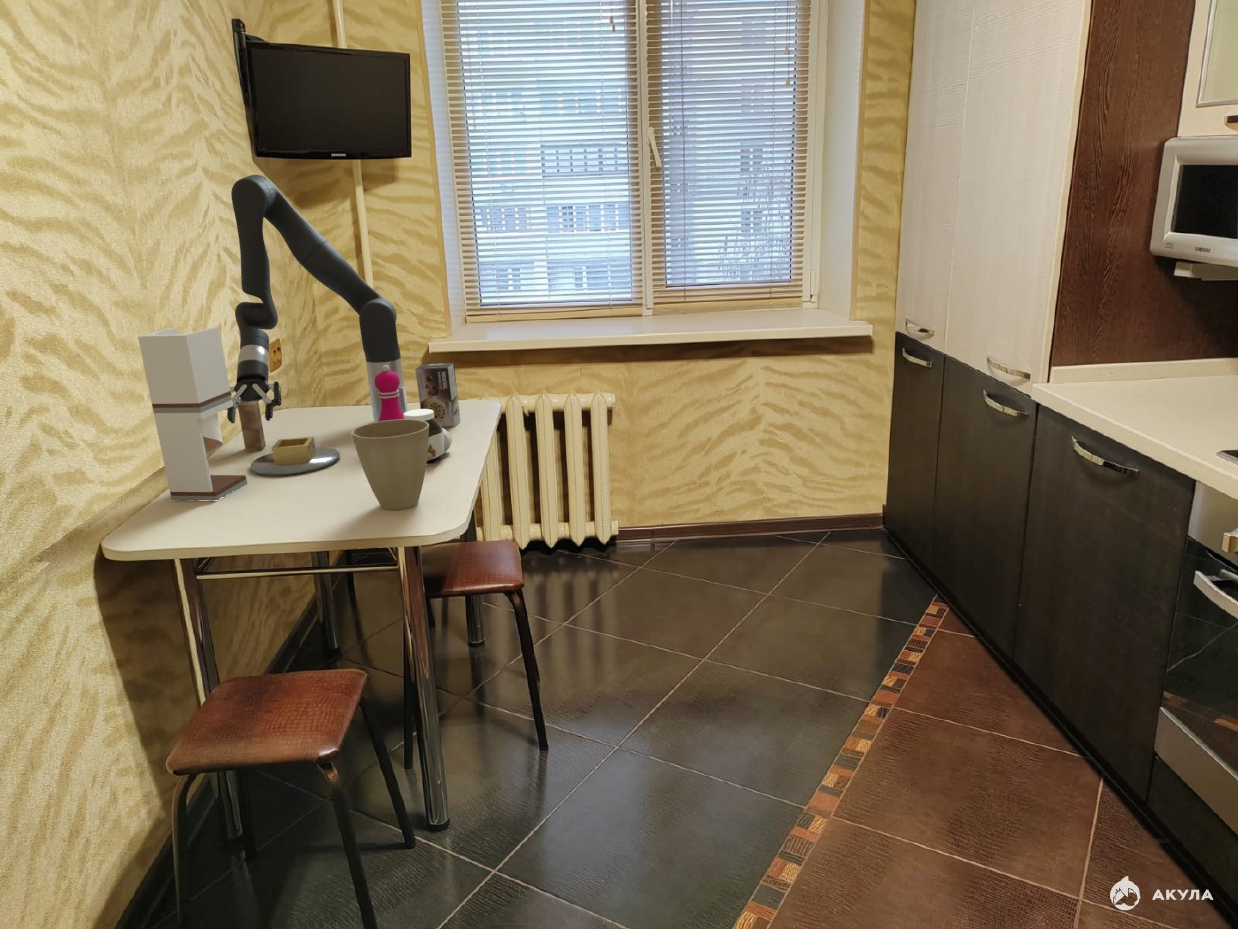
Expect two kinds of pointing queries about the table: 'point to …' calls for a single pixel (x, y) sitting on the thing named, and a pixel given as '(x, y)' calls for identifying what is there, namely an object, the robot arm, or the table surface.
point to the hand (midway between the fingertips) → (249, 420)
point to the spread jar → (432, 433)
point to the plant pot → (394, 460)
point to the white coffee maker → (189, 408)
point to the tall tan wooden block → (251, 426)
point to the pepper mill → (388, 394)
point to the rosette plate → (295, 458)
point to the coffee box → (439, 392)
